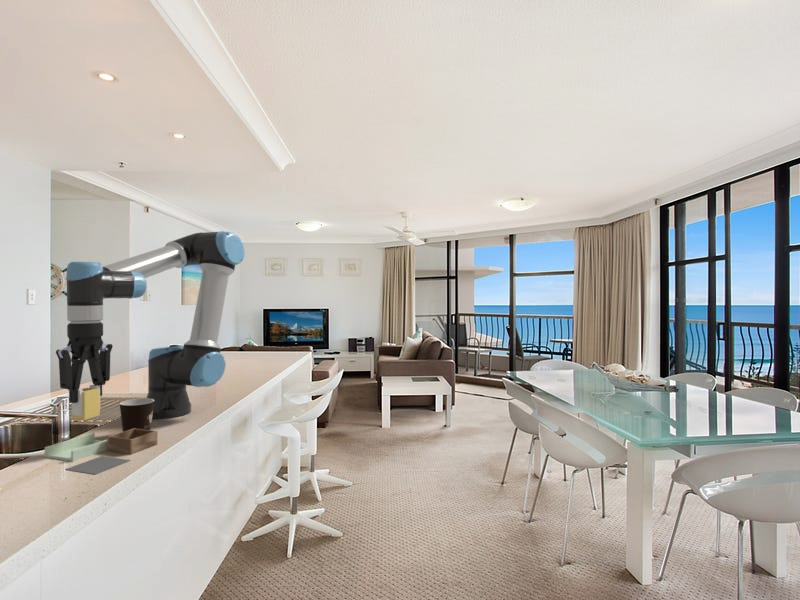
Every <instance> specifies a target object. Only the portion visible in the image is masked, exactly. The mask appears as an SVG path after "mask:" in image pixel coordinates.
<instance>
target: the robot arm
mask: <svg viewBox="0 0 800 600" xmlns="http://www.w3.org/2000/svg"><path fill="white" fill-rule="evenodd" d="M244 257H245V247H244V243H243V242H242V239H241V238H240V237H239V235H238V234H236V233H234V232H232V231H223V230H220V231H209V232H208V231H207V232H206V231H205V232H195V233H192V234H188V235H186V236H183V237H180V238H178V239H175V240H170V241H168V242H166V244H165V246H163V247H160V248H157V249H153V250H150V251H147V252H144V253H140V254H137V255H135V256H132V257H128V258H126V259H122V260H119V261H116V262H113V263H111V264H107V265H104V266H103V264H102V263H100V262H96V261H95V262H94V261H71V262H69V263H68V264H67V266H66V274H65V275H66V276H65V281H66V319H67V321H68V322H69V323H68V324H67V325H66V331H67V333H66V334H67V335H66V336H67V338H68V343H67V345H66V346H65V347H64V348H62V349H57V350H56V351H55V354H56V356H57V359H58V367H59V368H58V369H59V385H60V386H59V387H60V389H63V390H68V400H69V403H71V415H72V416H73V415H78V416H81V415H83V389H84V388H80V387H81V386H80V385H81V382H82V377H83V371H84V364H85V363H86V362H87V364H88V369H89V373H90V377H91V382H92V384H90V385H89V388H97V389H99V397H100V398H101V397H102V396H103V386H106V383H107V381H110V379H111V352H112V349H113V344H112V343H111V344H110V343H105V342H104V340H103V339H102V337H103V336H104V323H103V322H102V321H103V320H104V299H131V300H132V299H137V298H141V297H143V296H144V295H145V293H146V291H147V288H148V286H147V284H148V283H147V278H149V277H152V276H154V275H158V274H160V273H163V272H165V271H168V270H172V269H173V268H176V269H180V268H181V269H182V268H184V267H189V266H196V265H197V266H198V267H199V268H200V270H201V271H202V274H201V278H200V284H199V290H198V295H197V300H196V305H195V310H194V316H193V322H192V327H191V333H190V338H189V340H187V341H186V342H184V343H183V345H175V346H165V347H157V348H152V349H150V351H149V354H148V360H147V362H148V367H147V368H148V372H147V374H148V391H147V395H146V398H145V399H154V408H153V415H152V419H168V418H169V419H170V418H175V417H181V416H184V415H187V414H189V413H191V412H192V403H191V402H190V399H189V394H188V391H187V386H190V387H191V386H192V387H195V388H201V387H202V388H203V387H204V388H209V387H211V386H214V385H215V384H217V382H219V381H220V380H221V379H222V378H223V375H224V374H225V370H226V367H227V364H226V360H225V357H224V355H223V354H222V353H221V349H222V347H221V346H220V345H219V344H218V340H219V335H220V329H221V321H222V316H223V311H224V305H225V300H226V294H227V289H228V282H229V278H230V277H229V276H230V275H232V274H234V272H235V269H236V266H237V265H239V264H241V262H243V260H244Z"/></svg>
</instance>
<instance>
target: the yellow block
mask: <svg viewBox="0 0 800 600" xmlns="http://www.w3.org/2000/svg"><path fill="white" fill-rule="evenodd" d="M82 389H83V415H81V416H78V415H72V419H77V420H88V419H91V418H95V417H98V416H101V413H100V411H101V397H99V389H97V388H90V387H84V388H82Z"/></svg>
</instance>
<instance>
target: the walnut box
mask: <svg viewBox="0 0 800 600" xmlns="http://www.w3.org/2000/svg"><path fill="white" fill-rule="evenodd" d="M106 438H107V439H106V440H107V450H106V451H107V452H110V453H118V454H119V453H120V454H126V455H127V454H128V455H135V454H136V453H140V452H141V451H144V450H147V449H149V448H151V447H156V446H157V445H158V430H152V429H150V430H145V429H136V428H133V429H130V430H127V431H124V432H123V431H122V432H118V433H115V434H112V435H108V436H107V437H106Z"/></svg>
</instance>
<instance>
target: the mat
mask: <svg viewBox="0 0 800 600" xmlns="http://www.w3.org/2000/svg"><path fill="white" fill-rule="evenodd" d="M129 462H131V459H124V458H119V457H118V458H117V457H111V456H104V455H100V456H98V457H95V458H92V459H90V460H88V461H85V462H81V463H79V464H76V465H72V466H70V467H68V468H65V471H70V472H76V473H82V474H88V475H94V476H95V475H99V474H100V473H103V472H106V471H108V470H111V469H114V468H116V467H119V466H122V465H123V464H126V463H129Z"/></svg>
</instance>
